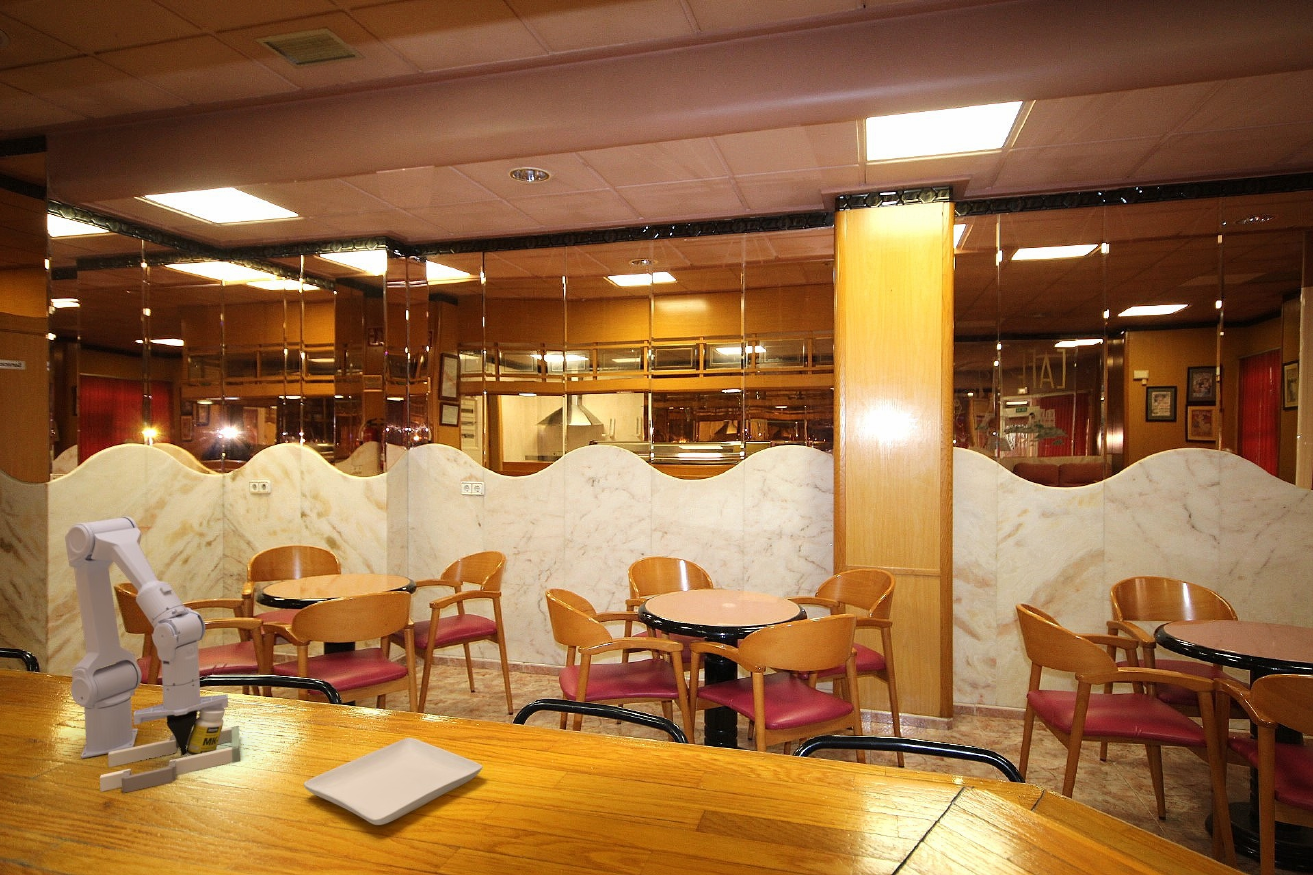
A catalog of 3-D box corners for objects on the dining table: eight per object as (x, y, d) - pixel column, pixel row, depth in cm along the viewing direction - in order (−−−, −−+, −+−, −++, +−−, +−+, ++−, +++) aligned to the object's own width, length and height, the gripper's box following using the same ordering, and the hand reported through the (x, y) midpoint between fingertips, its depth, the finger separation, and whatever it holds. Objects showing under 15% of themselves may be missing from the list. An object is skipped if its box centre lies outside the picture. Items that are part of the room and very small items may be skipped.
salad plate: (409, 751, 138) (408, 733, 138) (486, 782, 126) (486, 763, 126) (300, 801, 121) (299, 781, 121) (377, 843, 108) (376, 820, 108)
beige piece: (111, 758, 136) (111, 746, 136) (238, 732, 147) (238, 720, 147) (98, 798, 122) (97, 784, 122) (240, 766, 132) (239, 753, 132)
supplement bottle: (199, 761, 133) (212, 715, 134) (179, 753, 135) (192, 707, 135) (220, 754, 138) (232, 709, 139) (201, 746, 139) (213, 702, 140)
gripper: (130, 695, 127) (133, 772, 128) (226, 679, 135) (229, 751, 135) (134, 682, 133) (137, 756, 134) (226, 667, 141) (229, 737, 141)
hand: (184, 752), depth 135 cm, fingers closed, pressing on supplement bottle
